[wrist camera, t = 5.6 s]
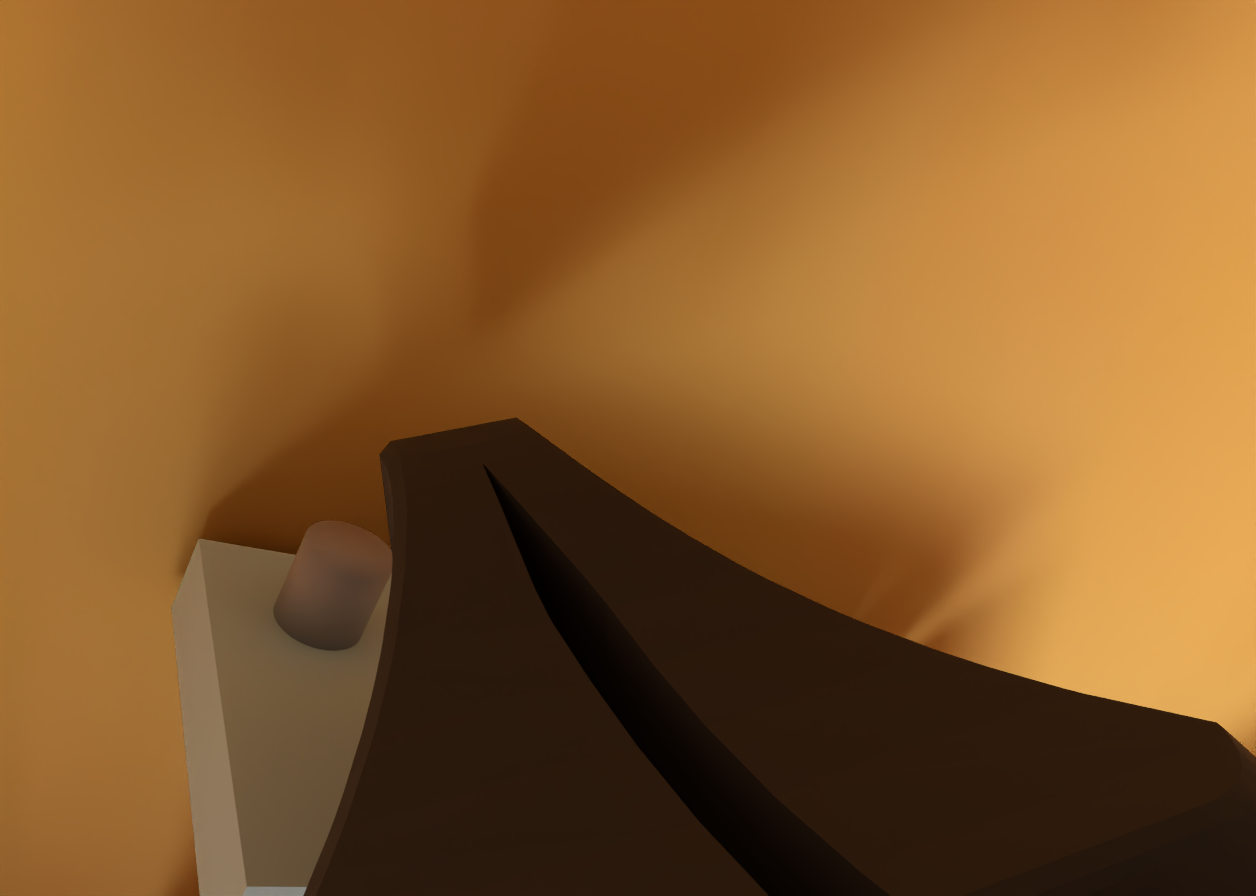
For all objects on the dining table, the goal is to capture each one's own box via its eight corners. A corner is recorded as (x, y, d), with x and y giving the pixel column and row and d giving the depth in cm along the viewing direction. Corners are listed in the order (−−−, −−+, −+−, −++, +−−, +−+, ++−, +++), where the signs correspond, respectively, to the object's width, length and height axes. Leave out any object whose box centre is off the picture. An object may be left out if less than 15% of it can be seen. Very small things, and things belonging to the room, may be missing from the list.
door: (931, 610, 19) (1141, 840, 15) (867, 701, 19) (1054, 943, 16) (227, 465, 12) (289, 795, 9) (171, 607, 13) (206, 970, 9)
